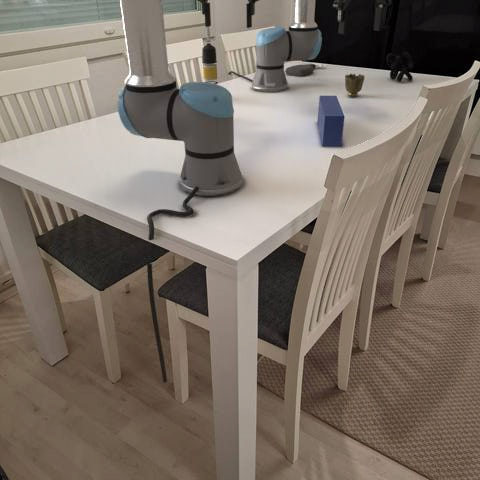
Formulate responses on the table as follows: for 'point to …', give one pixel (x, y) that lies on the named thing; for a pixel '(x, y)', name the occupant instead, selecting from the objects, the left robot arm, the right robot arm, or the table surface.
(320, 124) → the bar
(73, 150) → the table surface
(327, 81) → the table surface
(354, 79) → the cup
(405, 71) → the squiggle
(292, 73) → the dark grey paddle
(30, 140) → the table surface
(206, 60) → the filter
